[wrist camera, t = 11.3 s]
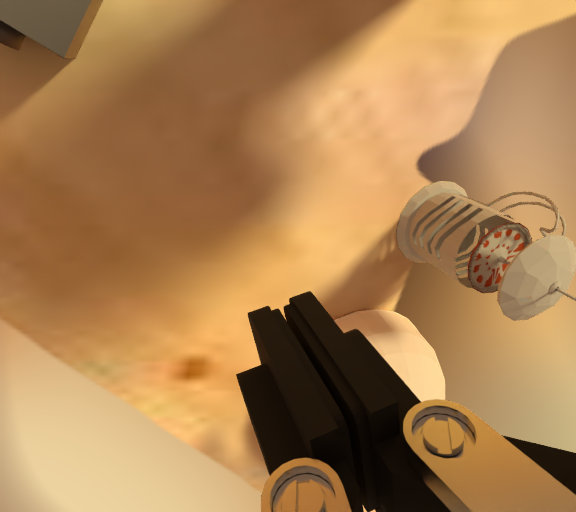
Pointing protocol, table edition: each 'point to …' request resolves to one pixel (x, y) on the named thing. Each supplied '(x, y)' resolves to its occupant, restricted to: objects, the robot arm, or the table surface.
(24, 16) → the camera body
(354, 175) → the table surface
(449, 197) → the french press
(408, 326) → the kettle
